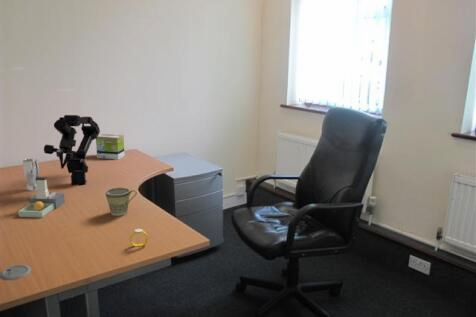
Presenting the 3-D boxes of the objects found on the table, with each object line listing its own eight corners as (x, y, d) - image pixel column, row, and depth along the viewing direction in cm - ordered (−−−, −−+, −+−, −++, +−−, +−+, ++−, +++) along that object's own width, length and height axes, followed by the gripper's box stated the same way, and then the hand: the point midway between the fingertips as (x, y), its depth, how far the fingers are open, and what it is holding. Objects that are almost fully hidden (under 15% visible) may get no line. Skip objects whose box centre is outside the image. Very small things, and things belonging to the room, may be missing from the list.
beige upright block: (39, 196, 187) (37, 176, 184) (49, 197, 186) (46, 176, 184) (36, 198, 184) (34, 178, 182) (46, 199, 184) (44, 178, 182)
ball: (38, 203, 179) (39, 212, 180) (45, 200, 183) (46, 209, 184) (30, 202, 180) (32, 211, 181) (38, 199, 184) (39, 208, 185)
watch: (146, 243, 153) (147, 228, 152) (147, 246, 150) (148, 231, 149) (129, 244, 151) (130, 229, 150) (130, 248, 149) (130, 232, 147)
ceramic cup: (109, 219, 174) (107, 196, 172) (104, 211, 183) (103, 189, 181) (140, 213, 180) (139, 191, 178) (134, 206, 189) (133, 185, 186)
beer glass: (35, 191, 208) (31, 162, 204) (22, 190, 209) (19, 161, 206) (44, 187, 215) (40, 158, 211) (32, 186, 216) (28, 158, 212)
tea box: (96, 158, 273) (94, 136, 270) (104, 155, 283) (102, 133, 279) (118, 159, 271) (117, 137, 267) (125, 156, 281) (123, 134, 277)
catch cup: (32, 208, 186) (31, 202, 186) (54, 208, 186) (53, 203, 185) (18, 216, 176) (18, 211, 176) (42, 217, 176) (41, 211, 175)
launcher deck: (39, 201, 194) (38, 190, 193) (64, 202, 193) (63, 190, 192) (30, 208, 186) (28, 195, 185) (56, 208, 185) (55, 196, 184)
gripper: (46, 128, 197) (39, 160, 192) (88, 135, 203) (82, 166, 198) (47, 137, 207) (41, 167, 202) (87, 143, 213) (82, 173, 208)
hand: (62, 168), depth 202 cm, fingers closed
